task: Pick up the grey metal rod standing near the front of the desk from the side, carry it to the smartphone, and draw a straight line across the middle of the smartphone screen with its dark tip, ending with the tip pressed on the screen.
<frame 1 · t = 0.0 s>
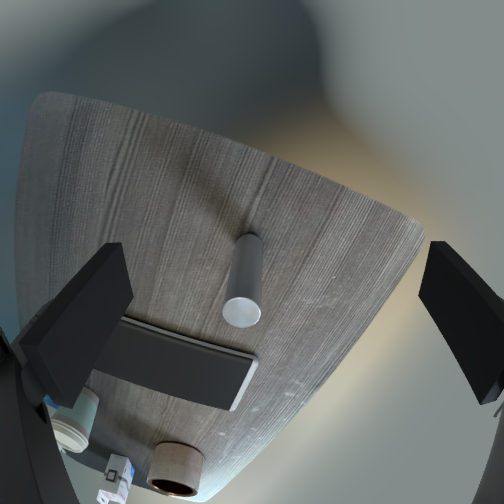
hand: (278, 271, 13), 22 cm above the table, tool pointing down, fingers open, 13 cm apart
grey metal rod: (249, 242, 36), on the table
coffee cup: (86, 393, 52), on the table
ink box: (123, 461, 66), on the table
smartphone: (161, 357, 46), on the table
planter: (179, 451, 60), on the table
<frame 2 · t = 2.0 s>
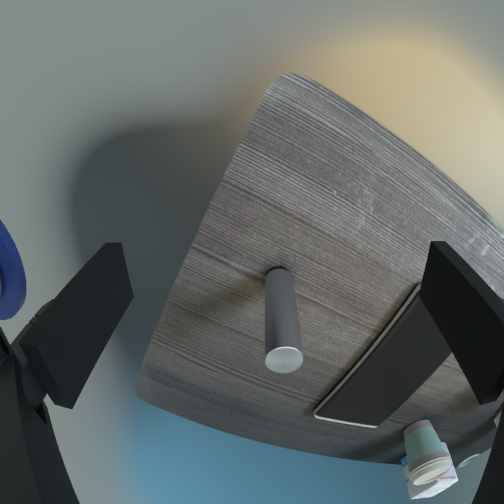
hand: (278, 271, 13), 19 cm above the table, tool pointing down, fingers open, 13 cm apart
grey metal rod: (278, 275, 35), on the table
coffee cup: (416, 427, 50), on the table
smartphone: (394, 365, 42), on the table
ink box 2: (423, 450, 56), on the table
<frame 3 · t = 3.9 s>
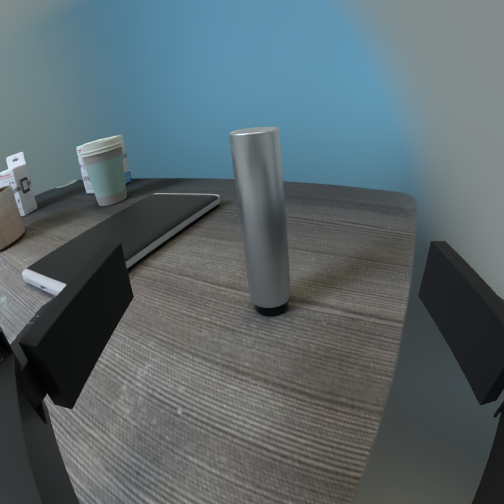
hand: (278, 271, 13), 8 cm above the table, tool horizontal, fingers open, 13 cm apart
grey metal rod: (271, 306, 24), on the table
coffee cup: (113, 201, 58), on the table
ink box: (22, 214, 64), on the table
smartphone: (128, 241, 39), on the table
ink box 2: (109, 188, 70), on the table
planter: (3, 244, 46), on the table
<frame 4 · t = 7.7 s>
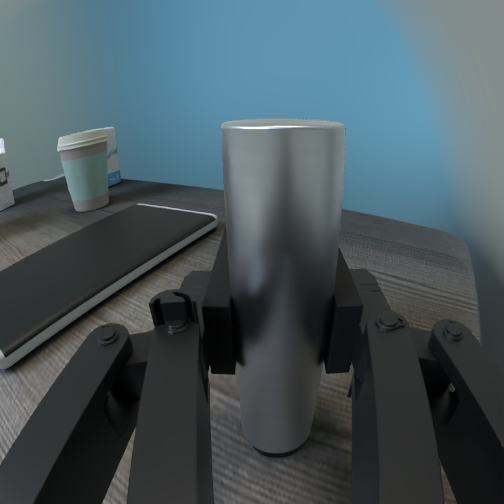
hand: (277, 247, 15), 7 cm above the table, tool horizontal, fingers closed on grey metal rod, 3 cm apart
grey metal rod: (276, 436, 13), on the table, touching gripper
coffee cup: (92, 206, 47), on the table
smartphone: (89, 269, 28), on the table
ink box 2: (94, 188, 59), on the table
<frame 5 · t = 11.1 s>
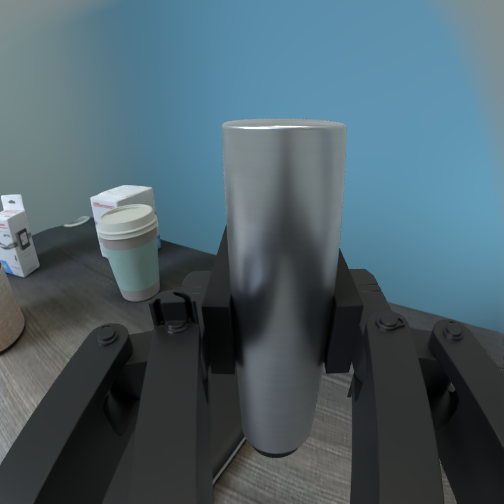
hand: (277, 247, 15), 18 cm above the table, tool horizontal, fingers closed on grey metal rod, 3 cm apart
grey metal rod: (276, 437, 13), point 11 cm above the table, touching gripper
coffee cup: (141, 291, 45), on the table
ink box: (21, 270, 52), on the table
smartphone: (183, 413, 27), on the table
ink box 2: (131, 252, 57), on the table
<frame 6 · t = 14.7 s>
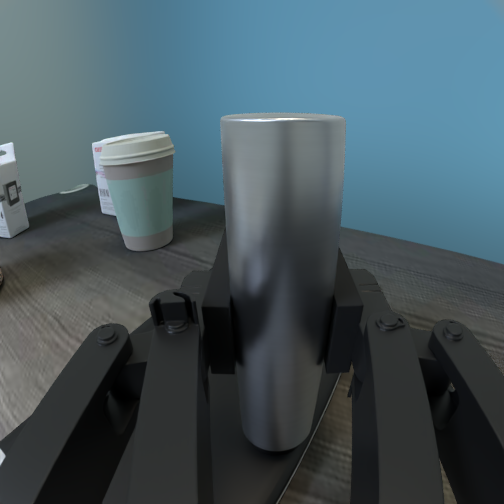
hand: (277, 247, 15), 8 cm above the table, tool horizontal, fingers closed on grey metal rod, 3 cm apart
grey metal rod: (276, 434, 13), point 2 cm above the table, touching gripper
coffee cup: (149, 242, 37), on the table
ink box: (8, 232, 43), on the table
smartphone: (217, 383, 18), on the table
ink box 2: (136, 209, 49), on the table
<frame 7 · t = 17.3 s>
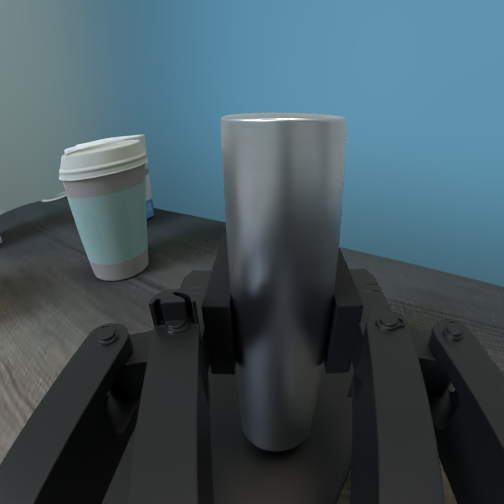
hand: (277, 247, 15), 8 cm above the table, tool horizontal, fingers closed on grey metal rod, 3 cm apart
grey metal rod: (275, 434, 13), point 1 cm above the table, touching gripper
coffee cup: (121, 268, 31), on the table
smartphone: (187, 484, 12), on the table
ink box 2: (115, 223, 43), on the table
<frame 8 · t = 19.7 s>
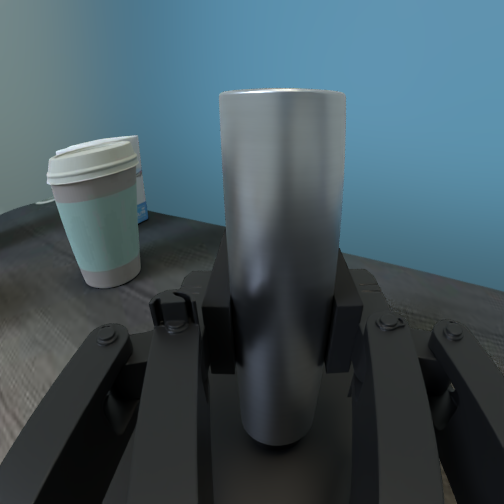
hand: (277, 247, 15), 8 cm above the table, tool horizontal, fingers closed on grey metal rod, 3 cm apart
grey metal rod: (276, 429, 13), point 2 cm above the table, touching gripper, smartphone
coffee cup: (112, 274, 29), on the table
ink box 2: (108, 226, 41), on the table
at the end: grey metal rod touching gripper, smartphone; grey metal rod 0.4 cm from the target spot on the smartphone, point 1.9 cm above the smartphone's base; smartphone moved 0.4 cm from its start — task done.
